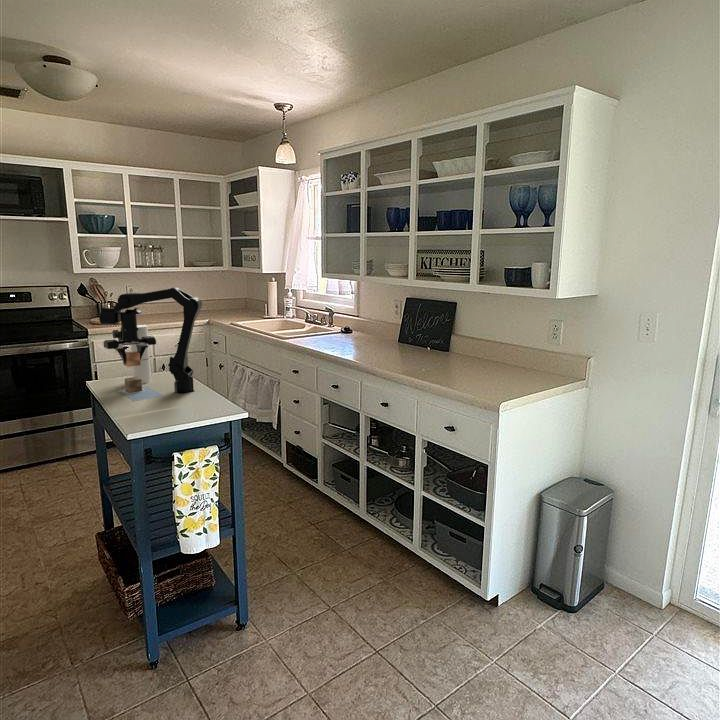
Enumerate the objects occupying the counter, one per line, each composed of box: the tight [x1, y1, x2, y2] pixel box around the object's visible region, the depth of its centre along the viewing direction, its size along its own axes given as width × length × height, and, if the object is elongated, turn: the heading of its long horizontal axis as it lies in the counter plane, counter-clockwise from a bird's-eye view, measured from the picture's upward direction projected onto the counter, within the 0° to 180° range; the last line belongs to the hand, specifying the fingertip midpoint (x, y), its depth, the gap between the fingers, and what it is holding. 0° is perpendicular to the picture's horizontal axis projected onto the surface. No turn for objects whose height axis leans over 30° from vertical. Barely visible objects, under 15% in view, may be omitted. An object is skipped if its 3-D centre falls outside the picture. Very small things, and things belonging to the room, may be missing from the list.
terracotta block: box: [122, 350, 140, 368], centre depth 211 cm, size 5×5×5 cm
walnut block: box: [124, 376, 143, 393], centre depth 214 cm, size 5×5×5 cm
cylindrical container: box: [130, 324, 152, 385], centre depth 227 cm, size 7×7×25 cm
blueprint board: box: [118, 385, 166, 402], centre depth 211 cm, size 12×19×1 cm, turn 41°
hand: (131, 363), depth 211 cm, fingers closed on terracotta block, 5 cm apart
